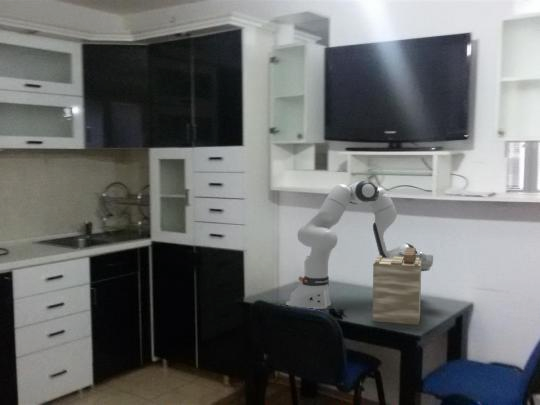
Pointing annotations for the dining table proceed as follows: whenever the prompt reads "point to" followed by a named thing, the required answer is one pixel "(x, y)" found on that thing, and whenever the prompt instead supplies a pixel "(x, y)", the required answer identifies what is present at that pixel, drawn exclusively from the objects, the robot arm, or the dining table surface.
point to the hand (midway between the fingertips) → (410, 253)
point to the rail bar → (409, 255)
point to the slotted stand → (396, 290)
